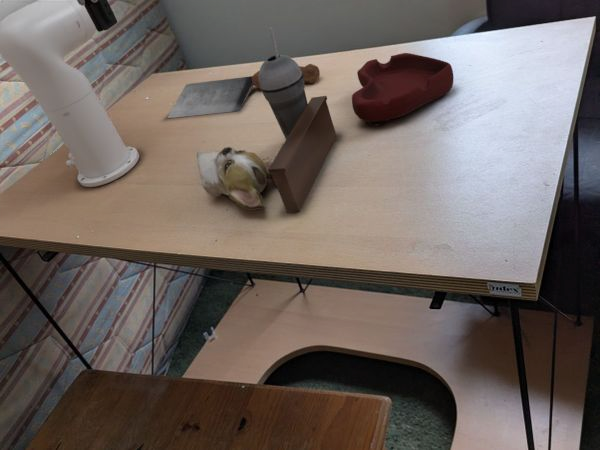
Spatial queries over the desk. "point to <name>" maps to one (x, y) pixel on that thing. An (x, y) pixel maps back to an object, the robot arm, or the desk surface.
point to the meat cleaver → (223, 94)
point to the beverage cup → (283, 88)
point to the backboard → (303, 154)
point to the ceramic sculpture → (235, 175)
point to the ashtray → (399, 86)
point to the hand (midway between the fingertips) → (108, 27)
